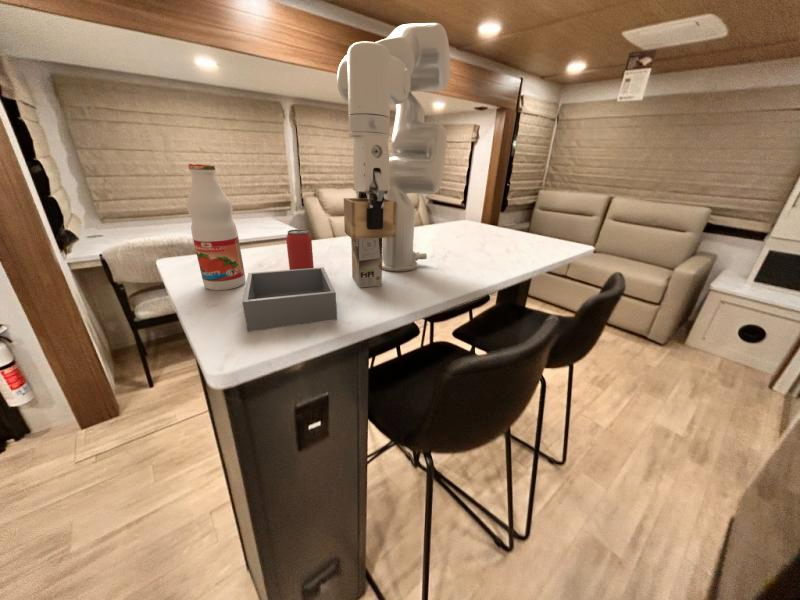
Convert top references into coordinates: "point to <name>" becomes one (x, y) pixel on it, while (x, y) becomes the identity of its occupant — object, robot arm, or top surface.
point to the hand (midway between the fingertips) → (369, 224)
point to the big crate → (288, 298)
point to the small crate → (358, 219)
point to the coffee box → (367, 261)
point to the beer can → (299, 249)
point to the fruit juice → (214, 231)
